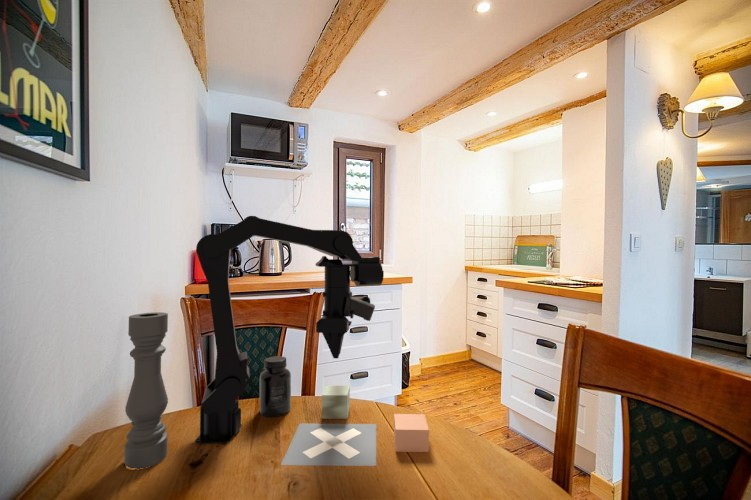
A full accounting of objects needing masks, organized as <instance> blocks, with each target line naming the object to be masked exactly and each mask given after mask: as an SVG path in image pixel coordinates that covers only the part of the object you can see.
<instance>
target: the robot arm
mask: <svg viewBox="0 0 751 500" xmlns="http://www.w3.org/2000/svg"><path fill="white" fill-rule="evenodd" d="M253 237H259V238H261V239H269V240H273V241H279V242H284V243H287V244H294V245H299V246H303V247H307V248H310V249H312V250H315V251H317V252H319V253H322V254H324V255H322V257H321V258H320V260H318V261H317V262H315V267H318V268H319V267H320V268H324V291H323V292H322V298H324V305H323V307H324V309H323V310H322V316H321V318H319V319H318V320H317V321H316V325H315V327H316V328H315V329H316V330H315V332H316V333H318V334H319V333H320V334H322V335H323V336H322V337H323V338H324V339H325V341H326V345H327V347H328V349H329V351H330V353H331V357H332V359H339V358H340V357H339V356H340V354H341V351H342V346H343V341H344V336H345V334H347V333H348V331H349V330H350V326H351V325H352V323H353V322H352V321H350V320H349V318H348V317H350V319H354V316H357V317H359V318H362V319H363V320H364V321H368V322H369V321H371V319H372V316H373V313H374V311H375V308H376V305H375V304H374V303H372V302H371V298H370V297H369V296H367V295H363V297H361V298H359V297H358V298H357V297H354V296H353V292H352V290H351V282H353V283H354V285H355V286H357V287H364V286H365V287H367V286H368V287H370V286H371V287H373V286H381V285H382V283H383V281H384V276H385V272H384V270H383V265H382V263H381V261H380V260H381V259H380V257H379V256H369V257H362V256H361V254H360V253H359V252H358V250H357V249H356V247H355V245H354V241H353V240H354V239H353V238H352V236H351V234H350V233H349V232H347V231H345V230H341V229H340V230H338V229H337V230H335V229H333V230H332V229H311V228H310V229H309V228H306V227H301V226H296V225H292V224H288V223H282V222H280V221H279V222H278V221H273V220H268V219H264V218H260V217H258V216H257V215H249V216H246V217H245V218H244V219H243V220H242V221H240V222H238V223H236V224H234V225H233V226H230V227H229V228H227V229H225V230H223V231H221V232H220V233H218V234H216V233H215V234H213V233H211V234H207V235H204V236H203V237H201V238H200V239H199V241H198V242H197V244H196V249H195V251H196V255H197V258H198V261H199V264H200V267H201V270H202V272H203V275H204V277H205V280H206V282H207V287H208V294H209V301H210V303H209V304H210V309H211V317H212V325H213V333H214V339H215V349H216V360H215V368H214V369H215V371H214V379H213V380H211V382H210V383H209V384H208V385H206V387H205V390H204V393H203V397H202V401H201V405H200V407H199V410H200V411H199V435H198V436H197V437H196V439H195V440H194V443H195V444H227V443H229V442H230V441H231V440H232V439H233V437H234V436H236V435H237V434H238V432H239V431H241V430H240V429H242V427H243V424H242V409H241V408H240V407H239V404H240V402H239V398H240V397H241V396H242V395H243V393H244V392H245V391H246V389H247V382H248V381H249V380H251V375H250V367H249V366H248V351H243V352H240V350H239V347H238V344H237V337H236V329H235V322H234V321H235V320H234V314H233V313H234V312H233V306H232V298H231V290H230V282H229V279H230V278H229V275H230V265H231V264H230V262H231V251H232V250H234V249H236V248H237V247H239V246H240V245H242V244H243V243H245V242H246V241H248V240H250V239H251V238H253ZM326 255H328V256H330V257H338V258H339V259H337V258H334V259H333V258H332V259H331V258H328V257H327V256H326ZM343 261H344V262H345V261H346V262H351V263H343Z"/></svg>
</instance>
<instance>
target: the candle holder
mask: <svg viewBox="0 0 751 500" xmlns="http://www.w3.org/2000/svg"><path fill="white" fill-rule="evenodd" d="M168 317H169V313H167V312H143V313H138V314H137V313H136V314H132V315H130V316H128V336H129V337H130V339H129V340H130V341H131V343H132V345H133V346H134V348H133V349H132V350H130V352H129V355H130V357H131V358H133V360H134V366H133V367H134V371H133V373H134V374H133V375H134V376H133V380H132V384H131V387H130V391H129V395H128V398H127V402H126V404H125V414H126V416H127V418H128V419H129V420H130V421H131V422H130V424H131V425H132V427H131V428H130V429H129V431H128V433H127V434H126V440H127V441H126V443H125V444H124V447H123V448H124V450H123V451H124V452H123V453H124V455H123V456H124V457H123V464H124V463H125V465H126V466H128V467H130V468H137V469H140V468H146V467H149V466H152V467H154V466H156V465H158V464H159V463H161V462H163V461H164V460H165V459H166V458H167V455H168V438H169V437H168V433H167V432H166V429H167V426H166V425H165V423H164V422H163V421H162V418H163V414H164V412H165V410H166V408H167V407H168V403H169V398H168V394H167V392H166V391H167V390H166V386H165V383H164V379H163V375H162V356H163V354H164V353H165V352H166V350H167V349H166V348H167V347H165V346H164V345H163V344H162V343H163V341H164V339H165V338H166V335H167V334H166V333H168V328H169V327H168V326H169V323H168V322H169V321H168V319H169V318H168ZM153 465H154V466H153ZM149 468H150V467H149ZM146 469H147V468H146Z"/></svg>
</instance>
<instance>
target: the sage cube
mask: <svg viewBox="0 0 751 500" xmlns="http://www.w3.org/2000/svg"><path fill="white" fill-rule="evenodd" d="M350 390H351V389H350V385H325V387H324V390H323V392H322V394H321V419H322V420H323V419H329V420H331V419H332V420H333V419H335V420H337V419H344V420H347V419H348V417H349V412H350V403H351V402H350V398H351V397H350V396H351V395H350V394H351V391H350Z"/></svg>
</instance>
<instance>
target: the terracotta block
mask: <svg viewBox="0 0 751 500" xmlns="http://www.w3.org/2000/svg"><path fill="white" fill-rule="evenodd" d="M393 436H394V437H393V438H394V450H395V452H399V453H401V452H404V453H405V452H407V453H408V452H409V453H429V452H430V447H429V446H430V430H429V425H428V422H427V419H426V415H425V414H422V413H421V414H420V413H419V414H418V413H416V414H415V413H412V414H411V413H394V415H393Z"/></svg>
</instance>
